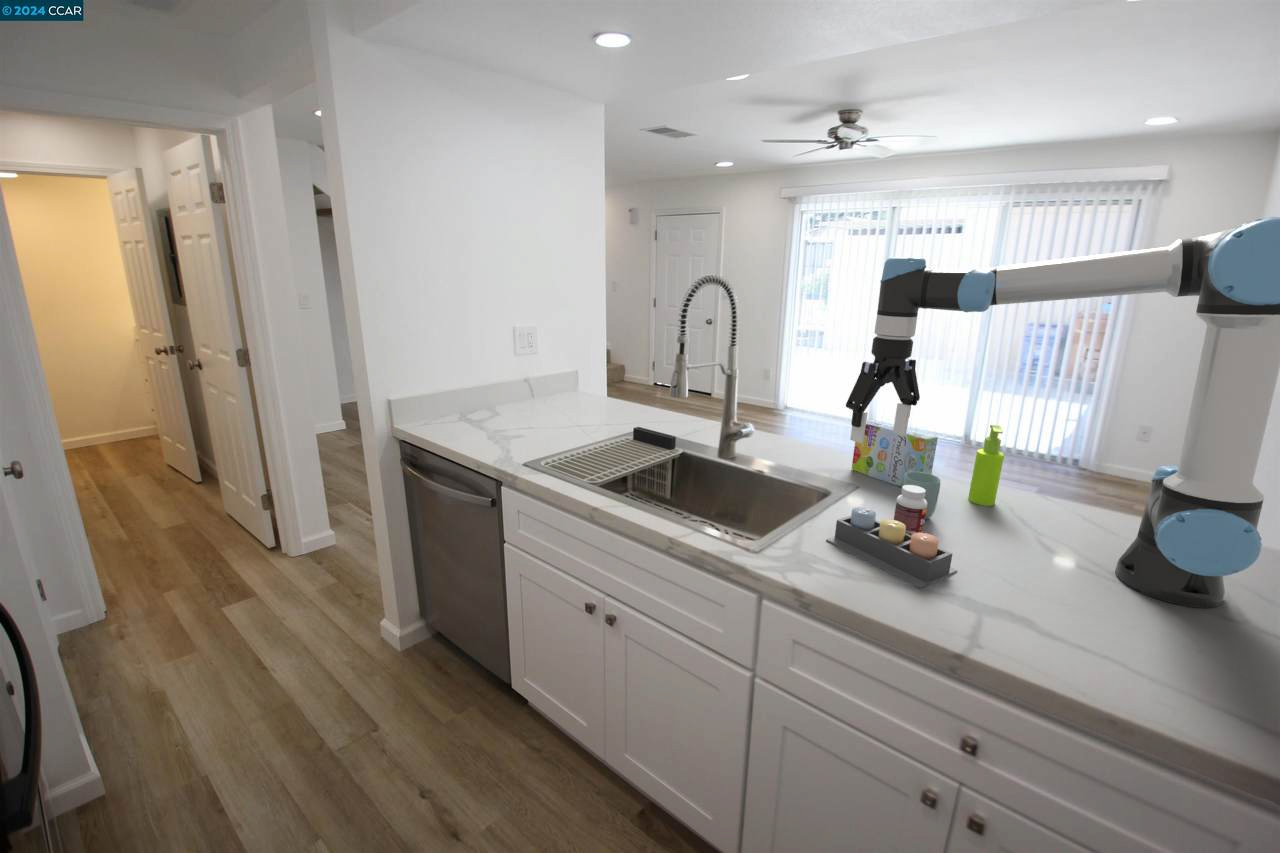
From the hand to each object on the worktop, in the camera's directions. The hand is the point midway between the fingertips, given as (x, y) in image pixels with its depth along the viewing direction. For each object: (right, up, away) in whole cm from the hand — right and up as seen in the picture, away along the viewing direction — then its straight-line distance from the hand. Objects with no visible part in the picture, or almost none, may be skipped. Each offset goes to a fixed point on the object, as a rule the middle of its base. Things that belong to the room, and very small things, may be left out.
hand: (878, 437), depth 122 cm
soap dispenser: (+36, -17, +25) cm, 47 cm away
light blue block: (-3, -20, +1) cm, 20 cm away
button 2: (+1, -22, -4) cm, 22 cm away
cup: (+15, -19, +15) cm, 29 cm away
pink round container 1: (+4, -24, -10) cm, 26 cm away
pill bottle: (+9, -22, +6) cm, 24 cm away
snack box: (+19, -13, +39) cm, 45 cm away
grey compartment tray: (0, -24, -4) cm, 25 cm away
